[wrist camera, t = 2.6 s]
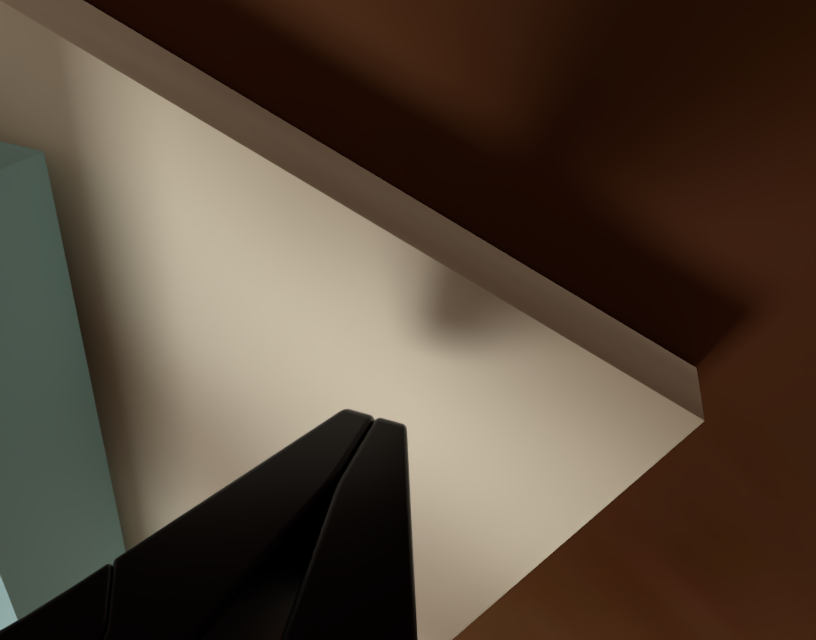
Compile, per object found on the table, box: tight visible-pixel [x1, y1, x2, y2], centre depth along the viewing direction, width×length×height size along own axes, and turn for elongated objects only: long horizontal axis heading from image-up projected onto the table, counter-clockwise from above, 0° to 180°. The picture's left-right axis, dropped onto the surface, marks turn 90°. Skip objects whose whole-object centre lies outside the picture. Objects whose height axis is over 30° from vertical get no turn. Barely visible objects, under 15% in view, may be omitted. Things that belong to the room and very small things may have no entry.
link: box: [0, 141, 126, 630], centre depth 14 cm, size 21×5×2 cm, turn 174°
